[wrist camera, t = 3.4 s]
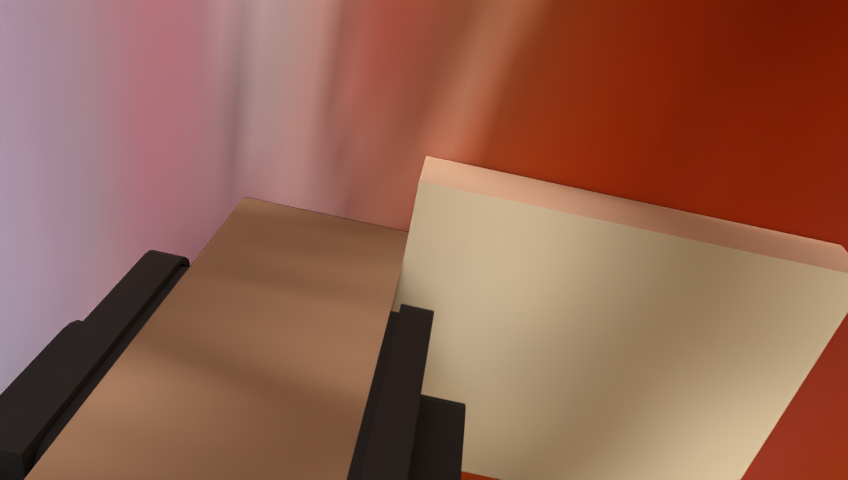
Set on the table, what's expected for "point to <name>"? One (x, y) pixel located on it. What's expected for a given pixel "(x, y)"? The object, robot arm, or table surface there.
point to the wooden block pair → (470, 339)
